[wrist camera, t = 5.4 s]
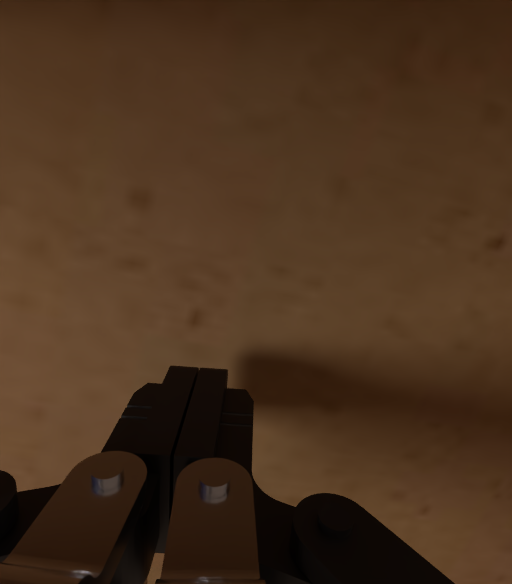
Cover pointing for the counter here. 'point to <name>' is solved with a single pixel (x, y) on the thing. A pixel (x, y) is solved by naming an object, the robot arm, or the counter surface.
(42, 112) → the counter surface
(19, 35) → the counter surface
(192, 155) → the counter surface
